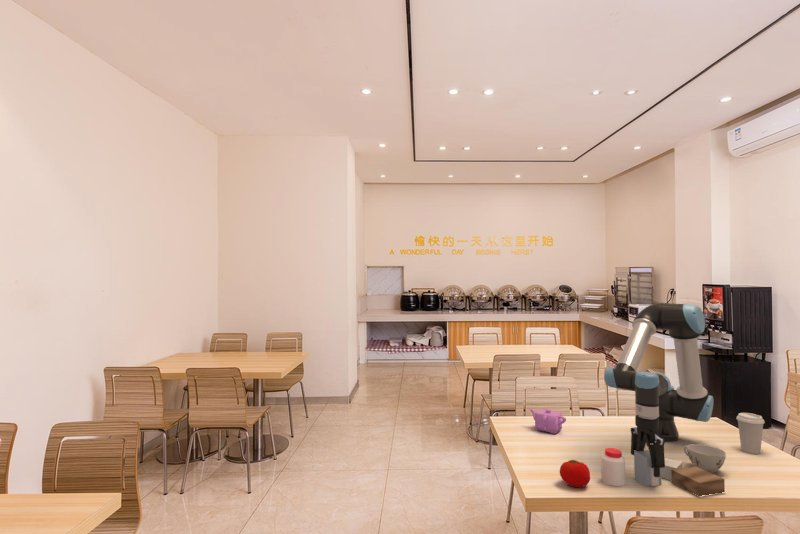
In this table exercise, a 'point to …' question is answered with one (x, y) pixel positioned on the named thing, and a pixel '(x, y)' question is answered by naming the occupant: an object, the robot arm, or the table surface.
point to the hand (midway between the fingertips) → (647, 481)
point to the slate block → (643, 467)
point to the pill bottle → (613, 467)
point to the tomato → (575, 473)
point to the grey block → (670, 468)
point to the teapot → (548, 420)
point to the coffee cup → (750, 432)
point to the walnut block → (698, 481)
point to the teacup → (705, 457)
